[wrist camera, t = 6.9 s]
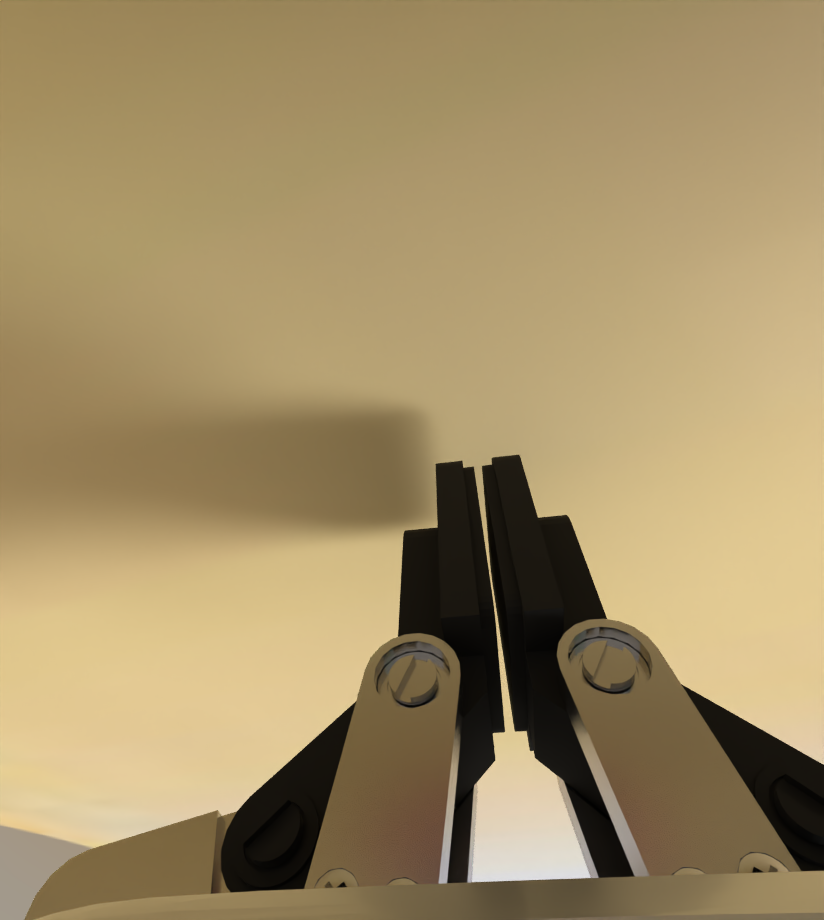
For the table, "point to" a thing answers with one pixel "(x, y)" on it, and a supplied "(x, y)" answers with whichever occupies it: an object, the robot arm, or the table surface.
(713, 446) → the table surface
